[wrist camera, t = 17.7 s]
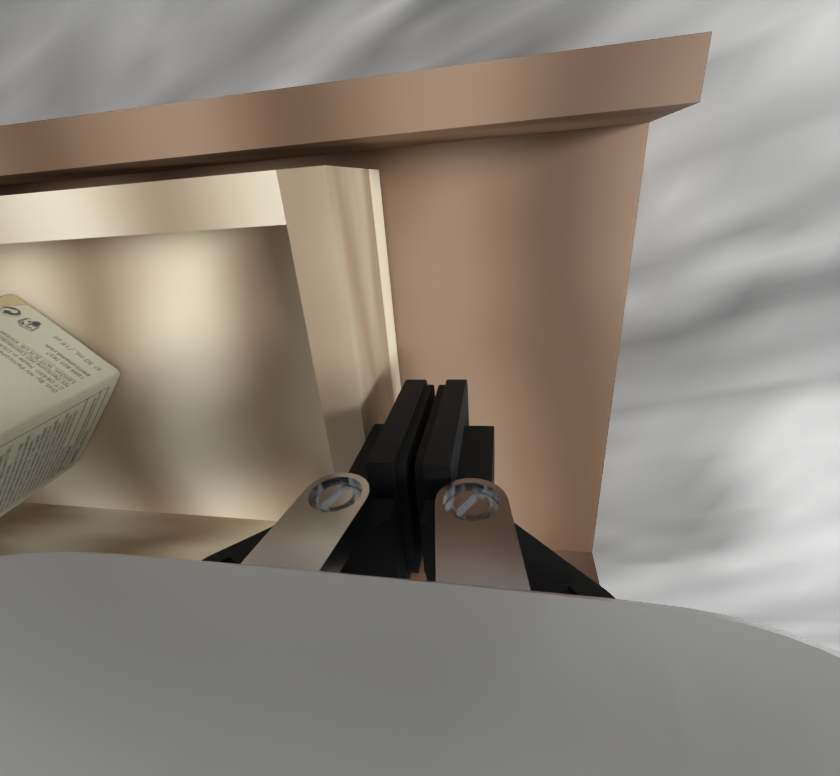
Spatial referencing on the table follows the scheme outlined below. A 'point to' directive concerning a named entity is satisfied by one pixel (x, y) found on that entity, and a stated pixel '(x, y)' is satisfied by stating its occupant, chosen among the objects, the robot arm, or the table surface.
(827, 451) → the table surface
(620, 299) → the wooden serving tray
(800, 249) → the table surface
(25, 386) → the skincare box
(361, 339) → the birch crate
